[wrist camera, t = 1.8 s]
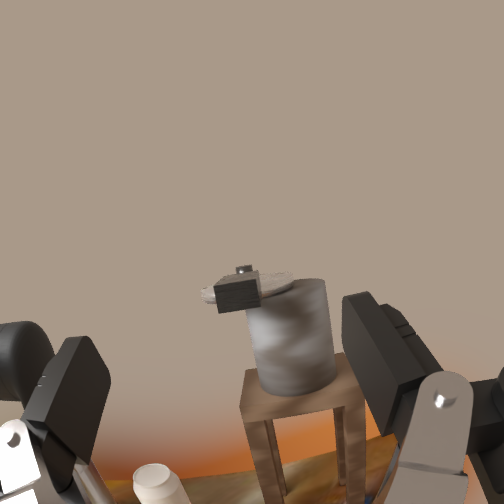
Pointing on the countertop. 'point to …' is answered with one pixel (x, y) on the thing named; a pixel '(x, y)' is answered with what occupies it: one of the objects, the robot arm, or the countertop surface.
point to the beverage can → (158, 485)
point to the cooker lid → (245, 289)
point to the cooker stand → (300, 386)
